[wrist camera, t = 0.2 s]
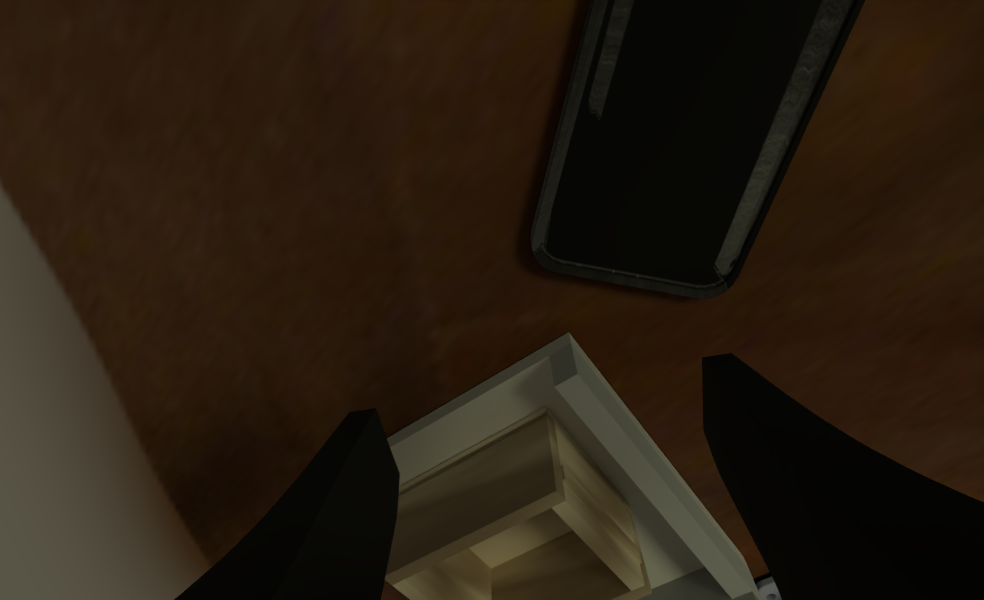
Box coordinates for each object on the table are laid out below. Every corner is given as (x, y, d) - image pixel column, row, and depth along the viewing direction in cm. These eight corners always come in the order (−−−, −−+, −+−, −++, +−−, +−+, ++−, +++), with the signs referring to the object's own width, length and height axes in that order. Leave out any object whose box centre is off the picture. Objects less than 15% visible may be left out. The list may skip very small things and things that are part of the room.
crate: (630, 501, 27) (654, 592, 23) (487, 569, 29) (486, 661, 25) (547, 405, 24) (558, 489, 20) (396, 488, 26) (380, 578, 23)
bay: (745, 559, 30) (810, 707, 24) (534, 646, 34) (544, 793, 28) (568, 332, 23) (595, 458, 17) (328, 472, 27) (281, 616, 21)
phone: (956, -198, 15) (725, 304, 22) (927, -187, 16) (715, 290, 23) (662, -284, 14) (522, 266, 21) (651, -267, 15) (520, 253, 22)
